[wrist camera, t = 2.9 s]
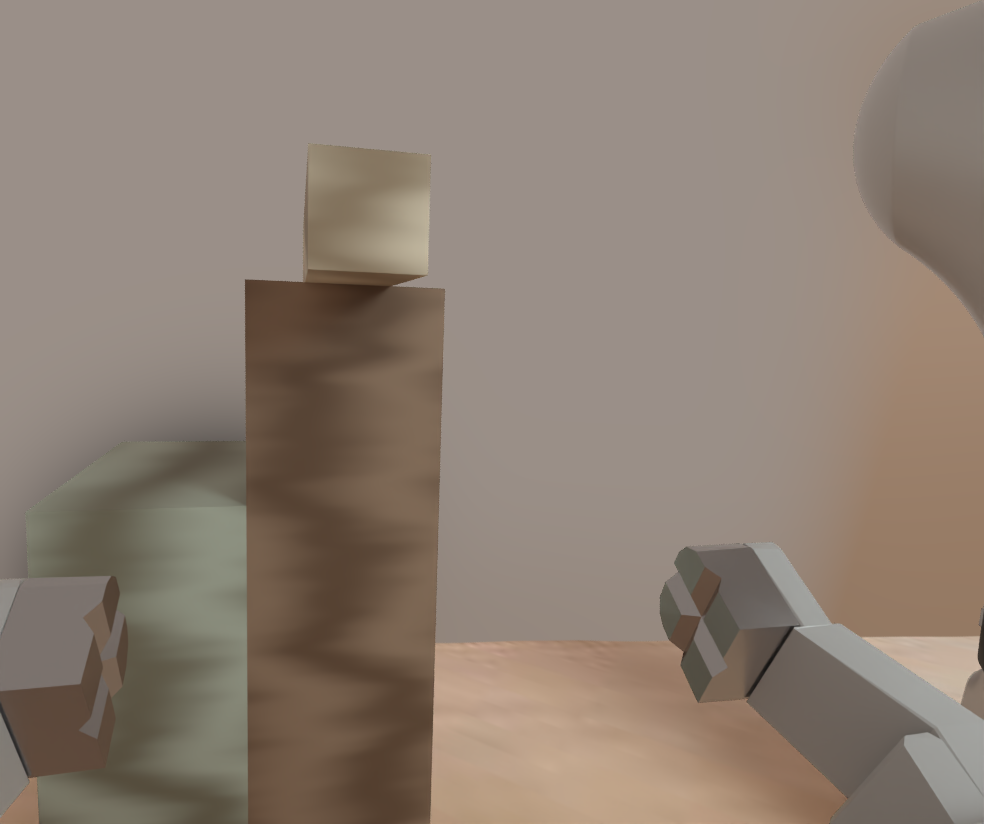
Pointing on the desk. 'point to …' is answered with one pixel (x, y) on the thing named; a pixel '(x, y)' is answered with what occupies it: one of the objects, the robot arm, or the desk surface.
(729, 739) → the desk surface
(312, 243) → the beech bar
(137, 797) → the stepped stand
